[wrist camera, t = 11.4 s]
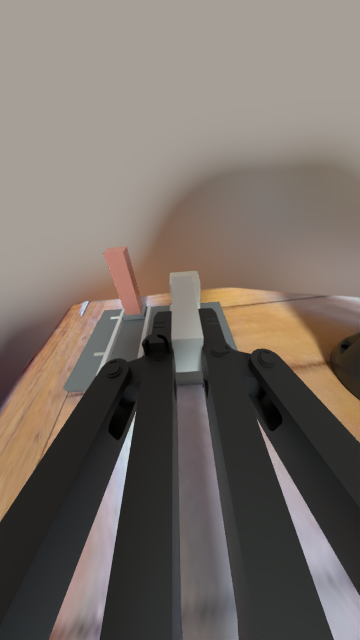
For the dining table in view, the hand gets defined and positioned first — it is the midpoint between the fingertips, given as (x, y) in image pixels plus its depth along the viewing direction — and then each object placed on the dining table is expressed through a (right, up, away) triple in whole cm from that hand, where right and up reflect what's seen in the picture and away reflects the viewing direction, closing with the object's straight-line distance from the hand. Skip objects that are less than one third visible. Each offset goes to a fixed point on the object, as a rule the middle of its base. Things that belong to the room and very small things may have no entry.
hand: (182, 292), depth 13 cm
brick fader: (-11, -1, +27) cm, 29 cm away
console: (-5, -7, +22) cm, 24 cm away
